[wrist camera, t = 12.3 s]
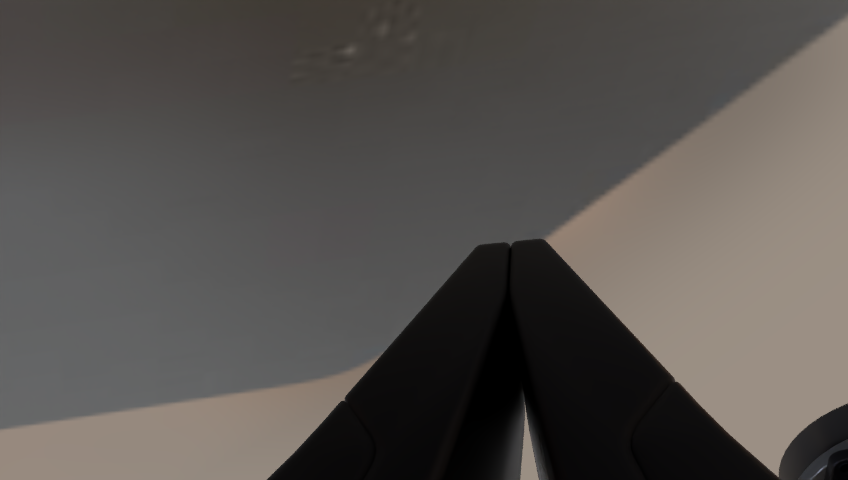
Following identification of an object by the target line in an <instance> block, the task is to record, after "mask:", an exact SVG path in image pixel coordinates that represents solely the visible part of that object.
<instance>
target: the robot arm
mask: <svg viewBox="0 0 848 480" xmlns="http://www.w3.org/2000/svg"><path fill="white" fill-rule="evenodd" d="M525 405H526V412H527V419H528V425H529V431H530V436H531V441H532V446H533V452H534V457H535V462H536V467H537V472H538V477H539V480H781V479H780V478H779V477H777V476H776V475H775V474H774V473H773V472H772V471H770V470H769V469H768V468H767V467H766V466H765V465H763V464H762V463H761V462H760V461H759V460H758V459H757V458H755V457H754V456H753V455H752V454H751V453H750V452H749V451H747V450H746V449H745V448H744V447H743V446H742V445H741V444H740V443H738V442H737V441H736V440H735V439H734V438H733V437H732V436H730V435H729V434H728V433H727V432H726V431H725V430H724V429H723V428H722V427H721V426H720V425H719V424H718V423H717V422H716V421H715V420H714V419H713V418H712V417H711V416H710V415H709V414H708V413H707V412H706V411H705V410H704V409H703V408H702V407H701V406H700V405H699V404H698V403H697V402H696V401H695V400H694V399H693V397H692V396H691V395H690V394H689V393H688V392H687V391H686V390H685V389H684V388H683V387H682V385H681V384H679V383H678V382H675V379H674V377H673V376H672V375H671V374H670V373H669V372H668V371H667V370H666V369H665V368H664V367H663V366H662V365H661V364H660V362H659V361H658V360H657V359H656V358H655V357H654V356H653V355H652V354H651V353H650V352H649V351H648V350H647V349H646V347H645V346H644V345H643V344H642V343H641V342H640V341H639V340H638V339H637V338H636V337H635V336H634V335H633V334H632V333H631V332H630V331H629V329H628V328H627V327H626V326H625V325H624V324H623V323H622V322H621V321H620V320H619V319H618V318H617V317H616V315H615V314H614V313H613V312H612V311H611V310H610V309H609V308H608V307H607V306H606V305H605V304H604V303H603V302H602V301H601V300H600V298H599V297H598V296H597V295H596V294H595V293H594V292H593V291H592V290H591V289H590V288H589V287H588V286H587V285H586V283H585V282H584V281H583V280H582V279H581V278H580V277H579V276H578V275H577V274H576V273H575V272H574V271H573V270H572V269H571V268H570V266H569V265H568V264H567V263H566V262H565V261H564V260H563V259H562V258H561V257H560V256H559V255H558V254H557V253H556V251H555V250H554V249H553V248H552V247H551V246H550V245H549V244H548V243H547V242H546V241H545V240H543V239H533V240H523V241H516V242H514V243H512V245H511V246H510V245H509V244H508V243H505V242H503V243H492V244H482V245H479V246H477V247H476V248H475V249H474V250H473V251H472V252H471V253H470V255H469V256H468V257H467V258H466V259H465V260H464V261H463V263H462V264H461V265H460V266H459V267H458V268H457V270H456V271H455V272H454V273H453V274H452V275H451V276H450V278H449V279H448V280H447V281H446V282H445V283H444V284H443V286H442V287H441V288H440V289H439V290H438V291H437V292H436V294H435V295H434V296H433V297H432V298H431V299H430V300H429V302H428V303H427V304H426V305H425V306H424V307H423V308H422V310H421V311H420V312H419V313H418V314H417V315H416V316H415V318H414V319H413V320H412V321H411V322H410V323H409V324H408V326H407V327H406V328H405V329H404V330H403V331H402V332H401V334H400V335H399V336H398V337H397V338H396V339H395V340H394V342H393V343H392V344H391V345H390V346H389V347H388V348H387V350H386V351H385V352H384V353H383V354H382V355H381V356H380V358H379V359H378V360H377V361H376V362H375V363H374V364H373V366H372V367H371V368H370V369H369V370H368V371H367V373H366V374H365V375H364V376H363V377H362V378H361V379H360V380H359V382H358V383H357V384H356V385H355V386H354V387H353V388H352V390H351V391H350V392H349V393H348V394H347V395H346V397H345V401H341V402H340V403H339V404H338V405H337V406H336V408H335V409H334V410H333V411H332V412H331V413H330V414H329V415H328V417H327V418H326V419H325V420H324V421H323V422H322V424H320V426H319V427H318V428H317V429H316V430H315V431H314V432H313V433H312V434H311V435H310V437H308V439H307V440H306V441H305V442H304V443H303V444H302V445H301V446H300V447H299V448H298V449H297V451H295V453H294V454H293V455H292V456H291V457H290V458H289V459H287V460H286V461H285V463H283V464H282V465H281V466H280V467H279V468H278V469H277V470H276V471H275V472H274V473H273V474H272V475H271V476H270V477H269V478H268V479H267V480H520V474H521V461H522V449H523V437H524V420H525ZM824 480H848V449H845V450H839V451H837V452H835V453H833V454H832V455H831V456H830V457H829V459H828V462H827V467H826V472H825V477H824Z"/></svg>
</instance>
